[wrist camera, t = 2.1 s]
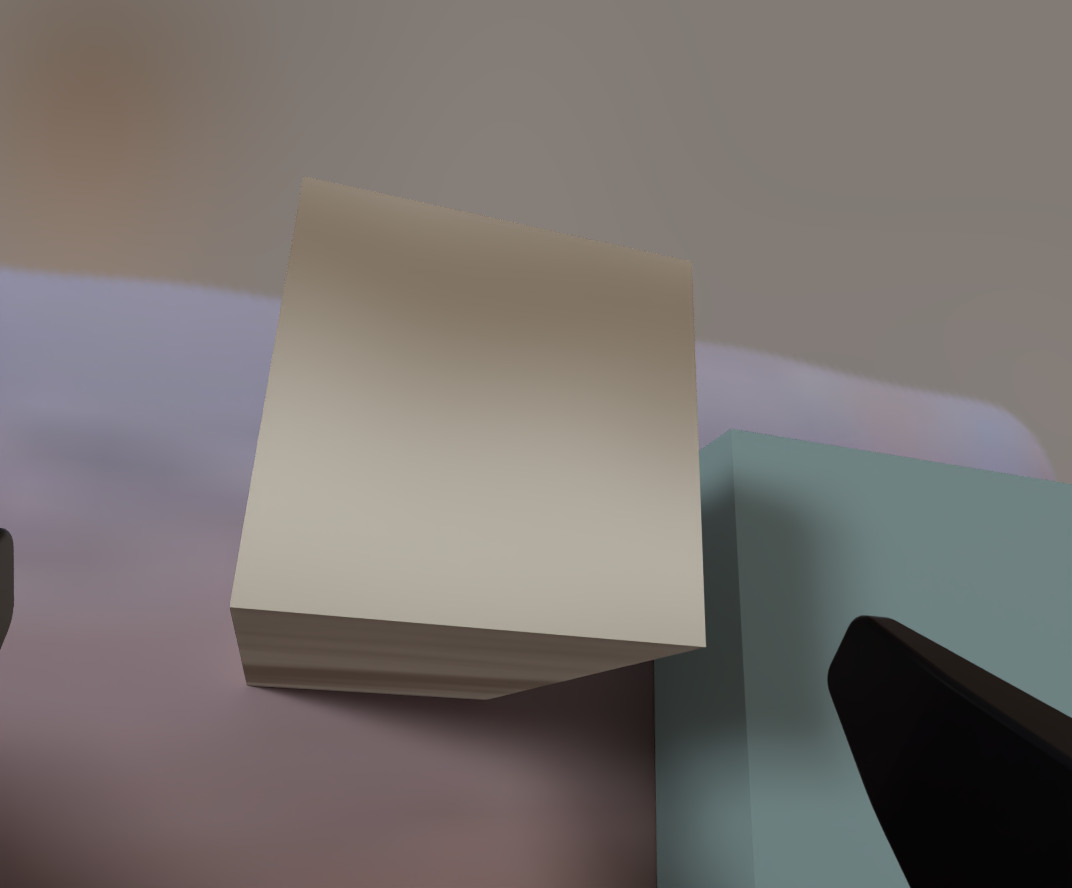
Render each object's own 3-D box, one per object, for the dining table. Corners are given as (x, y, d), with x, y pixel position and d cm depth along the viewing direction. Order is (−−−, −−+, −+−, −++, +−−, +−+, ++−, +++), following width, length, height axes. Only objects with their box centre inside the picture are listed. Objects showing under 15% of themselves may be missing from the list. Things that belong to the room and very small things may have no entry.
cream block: (486, 699, 18) (706, 646, 9) (246, 685, 17) (230, 607, 8) (498, 483, 20) (691, 261, 11) (283, 454, 19) (303, 175, 10)
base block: (1034, 926, 20) (1202, 964, 16) (657, 933, 17) (759, 979, 14) (971, 528, 24) (1097, 488, 20) (651, 483, 21) (730, 428, 17)
